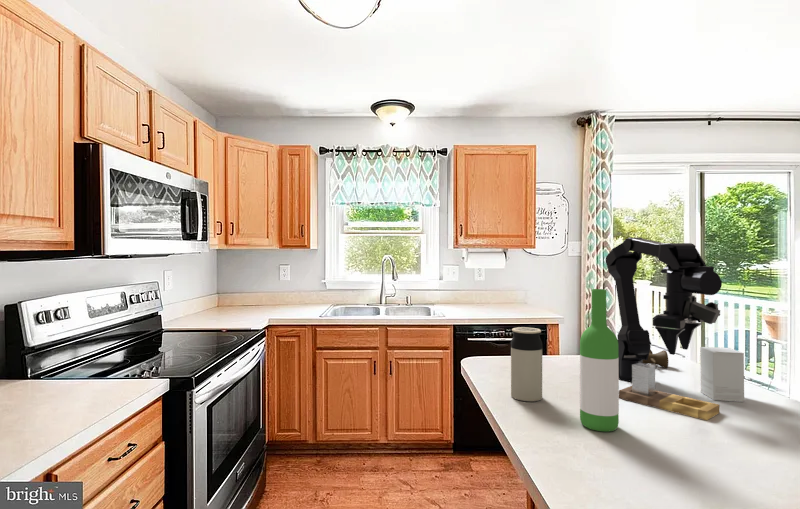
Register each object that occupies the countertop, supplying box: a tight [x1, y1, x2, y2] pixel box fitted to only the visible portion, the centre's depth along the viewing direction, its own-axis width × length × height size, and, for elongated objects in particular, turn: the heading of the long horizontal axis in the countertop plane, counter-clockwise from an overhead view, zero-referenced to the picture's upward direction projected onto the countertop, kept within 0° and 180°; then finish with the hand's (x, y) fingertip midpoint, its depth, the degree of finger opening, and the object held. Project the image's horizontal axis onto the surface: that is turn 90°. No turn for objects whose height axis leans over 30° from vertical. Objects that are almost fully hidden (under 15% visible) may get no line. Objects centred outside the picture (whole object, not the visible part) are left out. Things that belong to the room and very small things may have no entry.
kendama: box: [643, 348, 669, 369], centre depth 154 cm, size 6×10×20 cm
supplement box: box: [699, 346, 745, 403], centre depth 117 cm, size 7×7×13 cm
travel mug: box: [510, 326, 543, 403], centre depth 116 cm, size 8×8×18 cm
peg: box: [631, 363, 656, 396], centre depth 115 cm, size 4×4×9 cm
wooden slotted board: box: [619, 385, 720, 421], centre depth 110 cm, size 20×8×2 cm, turn 37°
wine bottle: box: [579, 288, 620, 433], centre depth 97 cm, size 8×8×30 cm
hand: (678, 351), depth 114 cm, fingers open, 9 cm apart
